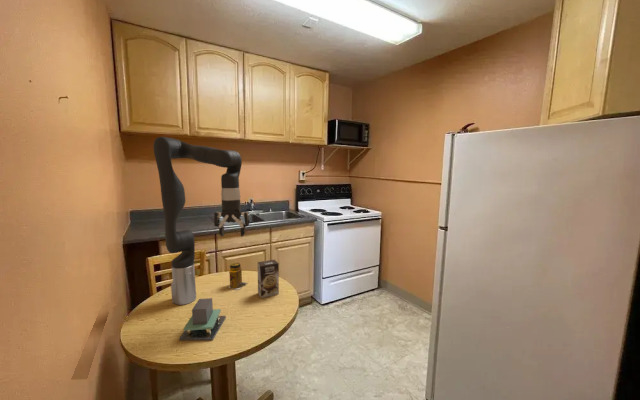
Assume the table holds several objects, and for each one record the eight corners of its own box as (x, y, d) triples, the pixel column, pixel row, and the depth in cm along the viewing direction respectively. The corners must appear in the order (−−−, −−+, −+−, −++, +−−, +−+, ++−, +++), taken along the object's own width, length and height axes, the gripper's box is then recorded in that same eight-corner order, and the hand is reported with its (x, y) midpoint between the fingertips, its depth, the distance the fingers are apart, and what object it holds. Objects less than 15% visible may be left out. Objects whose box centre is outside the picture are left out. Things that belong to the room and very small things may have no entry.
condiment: (226, 287, 137) (225, 265, 135) (237, 281, 144) (236, 260, 143) (237, 290, 134) (236, 267, 132) (248, 283, 142) (247, 262, 140)
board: (183, 330, 96) (182, 313, 95) (195, 312, 107) (194, 296, 106) (212, 328, 97) (211, 311, 96) (220, 310, 109) (219, 295, 108)
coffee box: (261, 298, 126) (260, 266, 124) (257, 292, 131) (256, 261, 129) (279, 294, 130) (278, 263, 128) (275, 288, 136) (274, 258, 133)
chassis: (179, 340, 95) (178, 331, 95) (196, 318, 109) (196, 310, 109) (212, 340, 96) (212, 331, 95) (225, 318, 110) (225, 310, 109)
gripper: (210, 199, 107) (212, 238, 109) (245, 199, 107) (246, 238, 109) (217, 197, 115) (219, 233, 117) (250, 197, 115) (251, 233, 117)
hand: (232, 235), depth 113 cm, fingers open, 8 cm apart
